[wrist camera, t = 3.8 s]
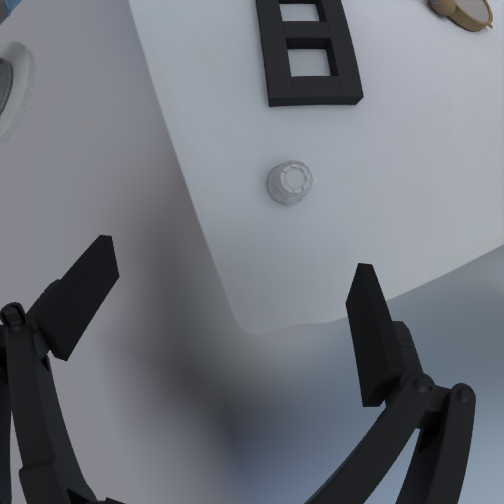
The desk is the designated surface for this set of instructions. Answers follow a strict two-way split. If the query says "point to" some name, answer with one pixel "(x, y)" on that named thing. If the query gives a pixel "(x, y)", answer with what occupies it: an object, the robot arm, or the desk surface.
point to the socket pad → (308, 37)
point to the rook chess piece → (289, 182)
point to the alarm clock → (465, 12)
